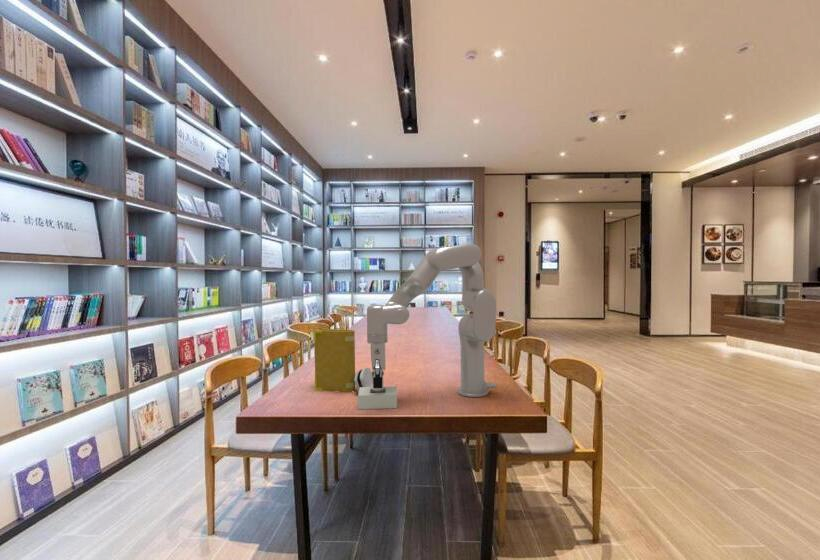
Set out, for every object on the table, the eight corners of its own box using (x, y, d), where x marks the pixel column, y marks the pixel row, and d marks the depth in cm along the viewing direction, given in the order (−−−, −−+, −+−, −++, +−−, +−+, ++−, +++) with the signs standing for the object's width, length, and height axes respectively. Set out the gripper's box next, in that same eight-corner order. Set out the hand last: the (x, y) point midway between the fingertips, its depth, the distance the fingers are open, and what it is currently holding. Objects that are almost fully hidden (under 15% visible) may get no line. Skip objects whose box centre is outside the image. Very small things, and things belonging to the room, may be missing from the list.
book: (314, 390, 159) (313, 330, 159) (323, 385, 166) (322, 328, 165) (350, 393, 154) (349, 332, 154) (358, 388, 160) (357, 329, 160)
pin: (384, 401, 143) (383, 370, 143) (384, 405, 139) (383, 373, 139) (372, 402, 143) (372, 370, 143) (372, 406, 139) (371, 373, 139)
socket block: (396, 399, 146) (396, 386, 146) (397, 408, 136) (397, 394, 136) (360, 400, 146) (360, 387, 146) (358, 409, 136) (358, 395, 136)
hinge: (371, 396, 150) (363, 373, 150) (360, 400, 150) (352, 376, 150) (379, 384, 166) (371, 363, 166) (369, 388, 167) (361, 366, 167)
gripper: (387, 342, 132) (388, 390, 133) (387, 334, 150) (388, 377, 150) (366, 342, 132) (366, 391, 132) (368, 334, 149) (369, 378, 149)
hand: (378, 384), depth 141 cm, fingers open, 9 cm apart
